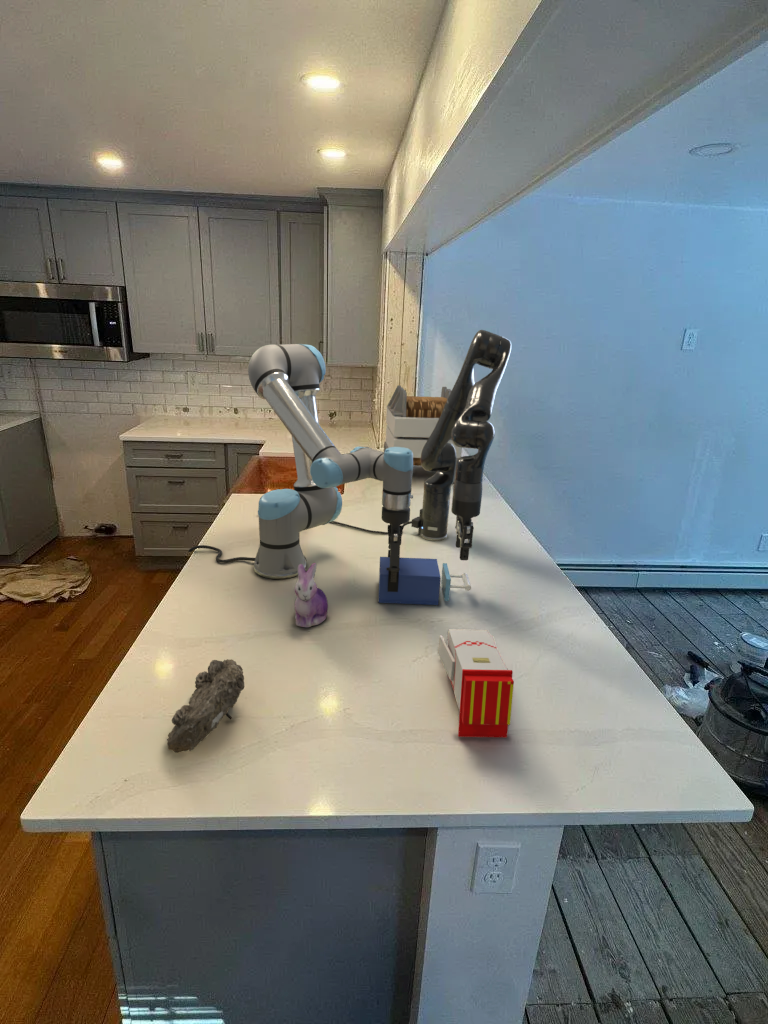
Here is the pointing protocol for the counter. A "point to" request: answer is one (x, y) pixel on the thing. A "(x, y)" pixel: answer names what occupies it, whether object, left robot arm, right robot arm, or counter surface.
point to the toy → (478, 682)
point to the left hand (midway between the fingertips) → (392, 580)
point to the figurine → (309, 599)
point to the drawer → (446, 582)
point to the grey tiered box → (414, 422)
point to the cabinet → (411, 581)
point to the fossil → (206, 705)
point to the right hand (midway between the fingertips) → (461, 553)
